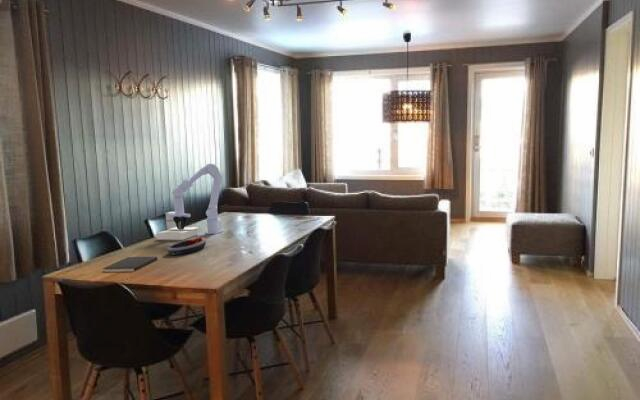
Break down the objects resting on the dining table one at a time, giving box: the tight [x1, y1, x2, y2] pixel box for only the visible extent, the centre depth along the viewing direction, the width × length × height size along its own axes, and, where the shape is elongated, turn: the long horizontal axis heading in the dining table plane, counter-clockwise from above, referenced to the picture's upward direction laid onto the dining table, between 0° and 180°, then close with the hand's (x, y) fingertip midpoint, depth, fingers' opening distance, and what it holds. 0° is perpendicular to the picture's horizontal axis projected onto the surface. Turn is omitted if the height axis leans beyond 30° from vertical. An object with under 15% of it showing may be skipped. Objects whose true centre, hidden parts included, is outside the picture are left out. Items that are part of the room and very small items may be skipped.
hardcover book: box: [102, 256, 158, 273], centre depth 262 cm, size 16×23×2 cm
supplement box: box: [165, 211, 181, 231], centre depth 360 cm, size 7×7×13 cm
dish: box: [166, 236, 207, 256], centre depth 292 cm, size 16×31×5 cm, turn 158°
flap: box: [168, 223, 200, 230], centre depth 338 cm, size 8×18×4 cm, turn 69°
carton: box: [156, 229, 198, 242], centre depth 332 cm, size 16×18×4 cm
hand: (180, 228), depth 336 cm, fingers closed on flap, 2 cm apart
